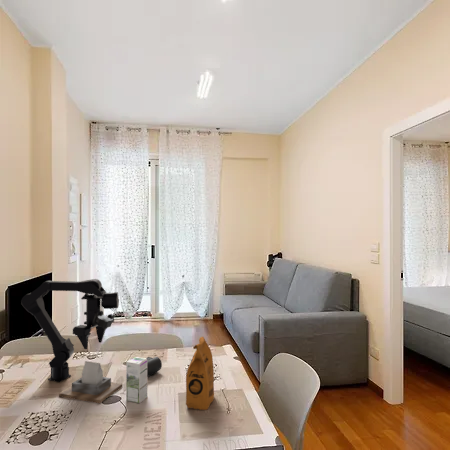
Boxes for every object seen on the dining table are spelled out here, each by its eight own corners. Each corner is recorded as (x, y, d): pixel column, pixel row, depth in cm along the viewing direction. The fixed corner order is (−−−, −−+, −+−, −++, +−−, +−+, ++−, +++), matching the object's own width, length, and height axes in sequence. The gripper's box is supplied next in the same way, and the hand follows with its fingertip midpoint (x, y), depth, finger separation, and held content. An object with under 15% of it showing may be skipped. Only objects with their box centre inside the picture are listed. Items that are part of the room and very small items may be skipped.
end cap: (145, 381, 142) (145, 365, 142) (133, 377, 145) (133, 361, 145) (162, 373, 150) (162, 357, 150) (150, 369, 154) (150, 354, 154)
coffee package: (181, 409, 119) (181, 345, 120) (192, 392, 131) (192, 335, 132) (208, 412, 117) (208, 347, 118) (217, 395, 129) (217, 336, 130)
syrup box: (147, 396, 128) (148, 357, 129) (139, 404, 123) (139, 363, 123) (134, 394, 130) (135, 355, 131) (125, 401, 125) (125, 361, 125)
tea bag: (96, 391, 130) (96, 365, 130) (81, 389, 132) (81, 363, 132) (102, 387, 133) (102, 361, 134) (88, 385, 135) (88, 359, 136)
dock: (59, 396, 129) (59, 385, 129) (84, 381, 142) (84, 370, 142) (99, 403, 123) (99, 391, 123) (122, 386, 136) (122, 376, 137)
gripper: (94, 315, 136) (94, 355, 136) (122, 305, 154) (122, 340, 153) (71, 313, 139) (71, 352, 139) (101, 304, 157) (101, 338, 157)
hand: (93, 345), depth 147 cm, fingers open, 9 cm apart
